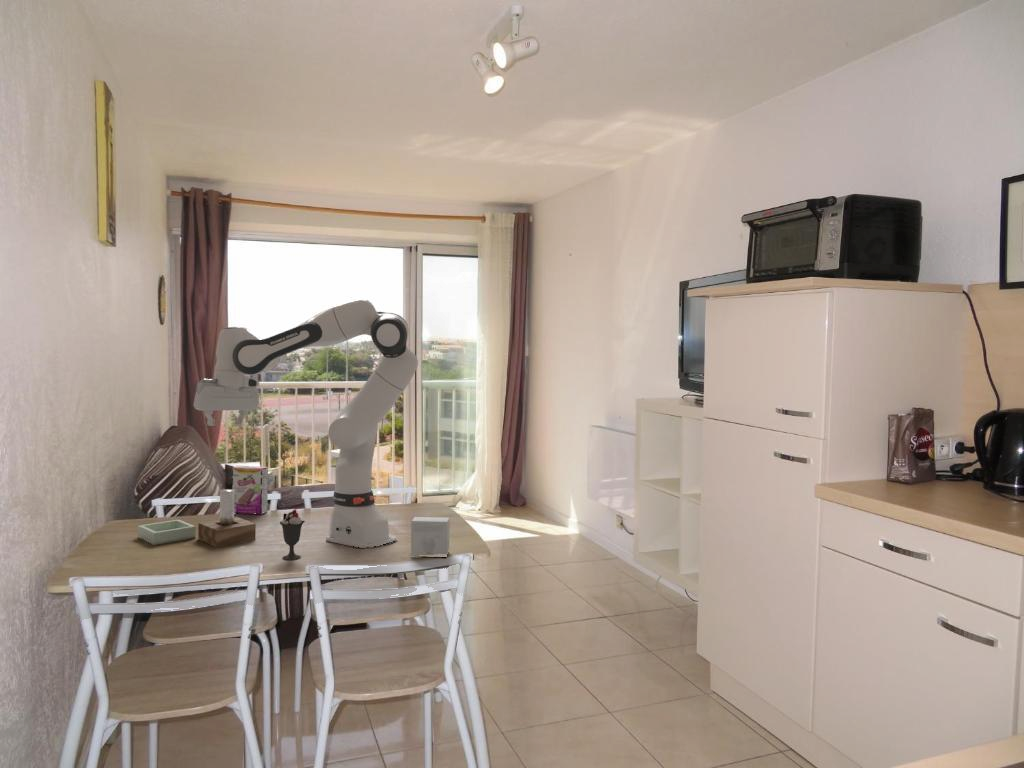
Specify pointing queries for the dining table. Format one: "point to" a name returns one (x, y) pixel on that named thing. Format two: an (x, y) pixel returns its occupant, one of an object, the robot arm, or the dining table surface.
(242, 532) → the socket block
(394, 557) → the dining table surface
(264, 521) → the dining table surface
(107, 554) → the dining table surface
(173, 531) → the tray
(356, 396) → the robot arm
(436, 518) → the skincare box
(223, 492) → the steel pin
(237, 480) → the candy bar box
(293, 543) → the sundae
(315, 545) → the dining table surface
